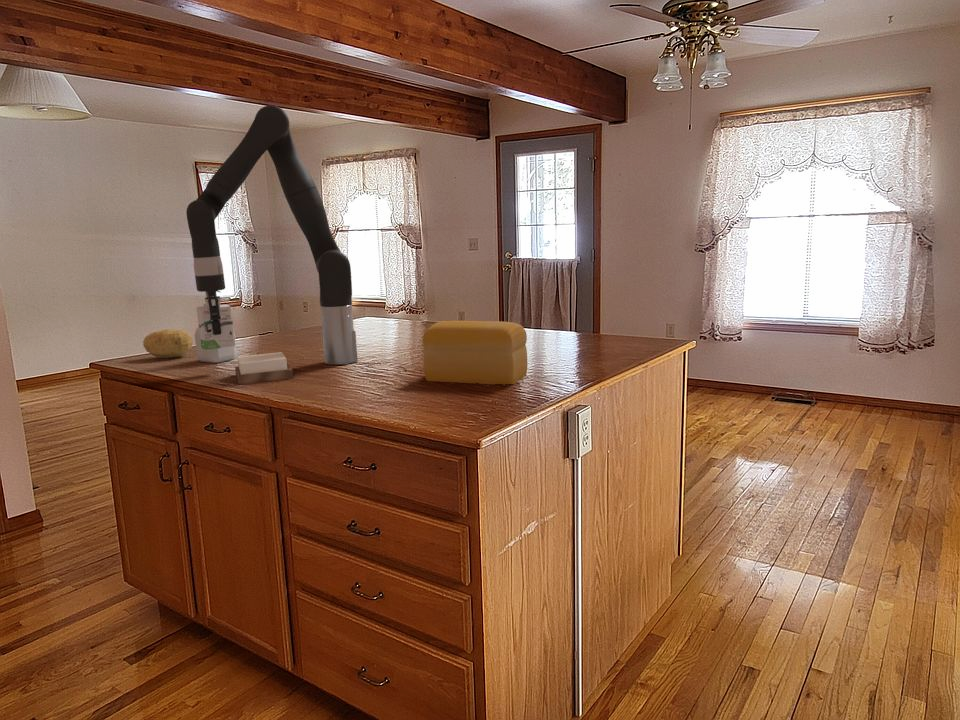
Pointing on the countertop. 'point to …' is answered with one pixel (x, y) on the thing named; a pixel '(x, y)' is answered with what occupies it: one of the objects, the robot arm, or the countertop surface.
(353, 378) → the countertop surface
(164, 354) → the potato
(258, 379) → the walnut slab
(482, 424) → the countertop surface
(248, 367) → the cream slab
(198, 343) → the soap bottle
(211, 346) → the ink box
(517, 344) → the bread
